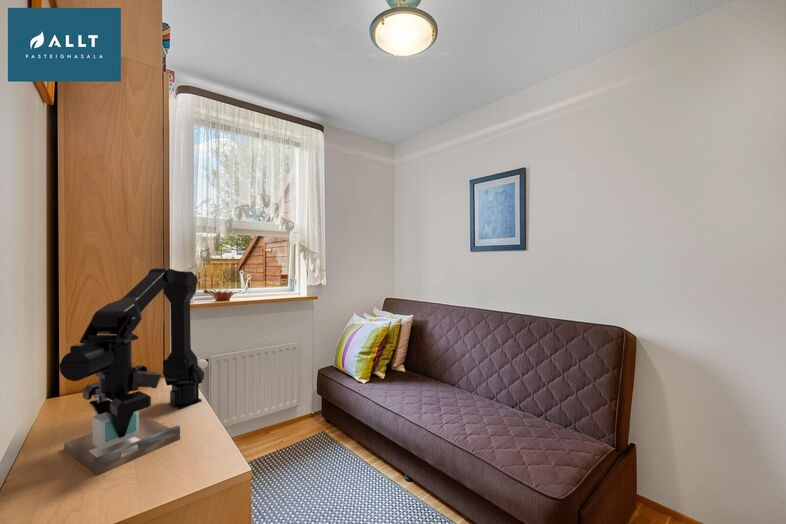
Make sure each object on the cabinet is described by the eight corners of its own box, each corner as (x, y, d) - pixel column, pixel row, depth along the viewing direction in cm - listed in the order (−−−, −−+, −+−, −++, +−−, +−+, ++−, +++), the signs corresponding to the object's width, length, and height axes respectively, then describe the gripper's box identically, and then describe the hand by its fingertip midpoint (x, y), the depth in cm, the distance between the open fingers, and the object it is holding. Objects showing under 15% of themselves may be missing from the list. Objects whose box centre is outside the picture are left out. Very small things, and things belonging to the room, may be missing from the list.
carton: (92, 443, 75) (92, 416, 75) (129, 429, 81) (129, 404, 81) (101, 450, 73) (101, 422, 73) (139, 435, 79) (139, 409, 79)
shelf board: (143, 420, 92) (143, 409, 92) (180, 439, 83) (180, 426, 83) (64, 449, 79) (63, 435, 78) (97, 475, 69) (97, 460, 69)
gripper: (176, 361, 79) (176, 429, 79) (137, 350, 89) (137, 410, 89) (118, 376, 69) (118, 453, 70) (81, 361, 79) (82, 428, 79)
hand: (116, 433), depth 77 cm, fingers closed on carton, 5 cm apart
